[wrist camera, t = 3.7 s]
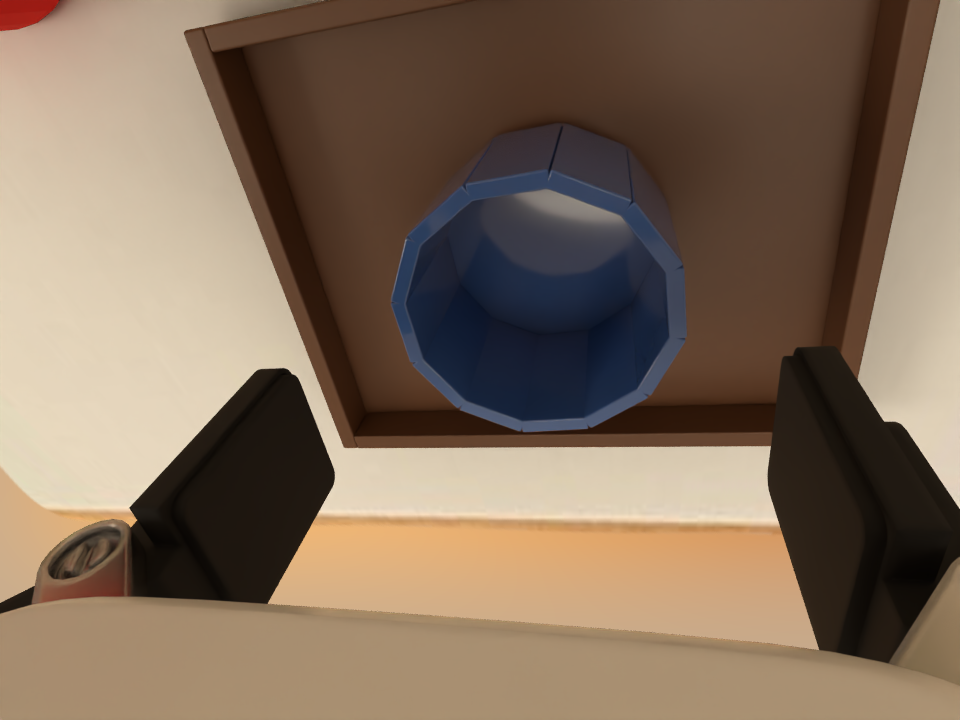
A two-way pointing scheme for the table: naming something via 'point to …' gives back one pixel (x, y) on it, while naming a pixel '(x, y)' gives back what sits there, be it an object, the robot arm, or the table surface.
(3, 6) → the soda can
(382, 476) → the table surface
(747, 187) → the tray
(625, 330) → the bowl
